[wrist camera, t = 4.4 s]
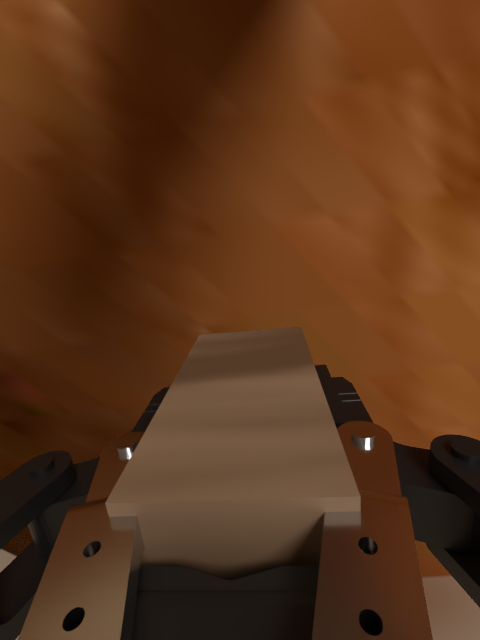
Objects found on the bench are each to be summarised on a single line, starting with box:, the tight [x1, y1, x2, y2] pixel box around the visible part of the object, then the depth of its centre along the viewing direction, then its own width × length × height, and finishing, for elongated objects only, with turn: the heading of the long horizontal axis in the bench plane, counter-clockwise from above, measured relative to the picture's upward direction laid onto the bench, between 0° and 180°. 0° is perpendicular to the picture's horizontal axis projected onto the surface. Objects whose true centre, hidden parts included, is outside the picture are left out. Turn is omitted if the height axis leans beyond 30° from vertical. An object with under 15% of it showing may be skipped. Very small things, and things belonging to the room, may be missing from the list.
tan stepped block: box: [105, 327, 361, 580], centre depth 10 cm, size 11×4×8 cm, turn 6°
